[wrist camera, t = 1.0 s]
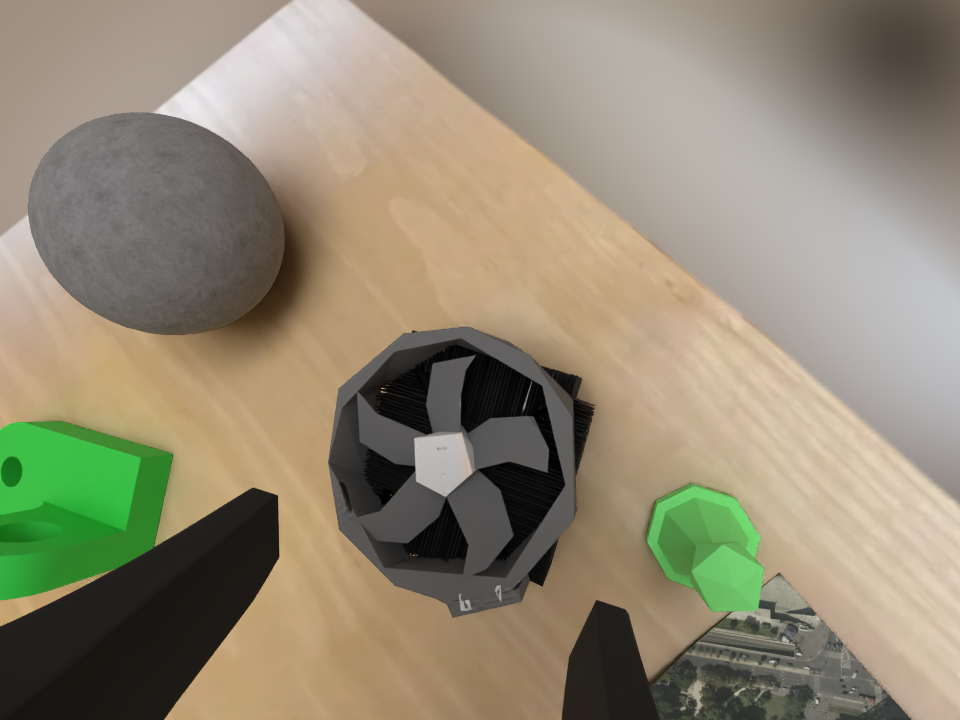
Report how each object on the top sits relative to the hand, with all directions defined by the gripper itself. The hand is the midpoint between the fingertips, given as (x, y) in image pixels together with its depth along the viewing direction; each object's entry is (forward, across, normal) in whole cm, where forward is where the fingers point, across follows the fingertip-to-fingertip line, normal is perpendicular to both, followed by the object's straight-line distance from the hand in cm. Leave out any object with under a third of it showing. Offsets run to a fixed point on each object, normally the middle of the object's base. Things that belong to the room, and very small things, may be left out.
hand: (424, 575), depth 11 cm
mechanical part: (+11, +23, +16) cm, 30 cm away
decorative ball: (+17, +16, +2) cm, 24 cm away
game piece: (+10, -10, +5) cm, 15 cm away
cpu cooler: (+12, 0, +6) cm, 13 cm away
